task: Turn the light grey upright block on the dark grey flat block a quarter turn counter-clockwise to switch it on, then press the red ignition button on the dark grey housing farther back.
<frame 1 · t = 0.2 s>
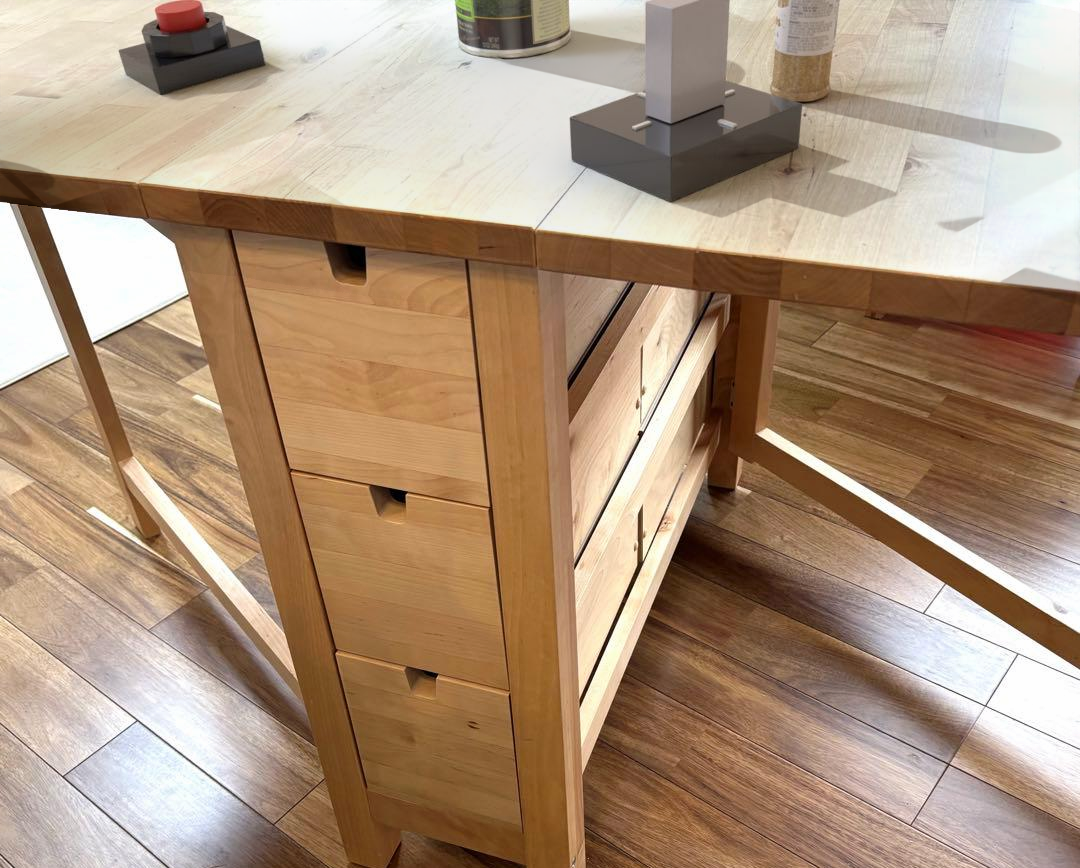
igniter: (195, 70, 94), on the table
sprinkles bottle: (799, 96, 80), on the table
light grey upright block: (686, 52, 68), point 7 cm above the table, hinge at 0.0°
ignition button: (181, 17, 91), point 4 cm above the table, slide at 0.1 cm
dark grey flat block: (684, 154, 72), on the table
coffee can: (515, 43, 94), on the table
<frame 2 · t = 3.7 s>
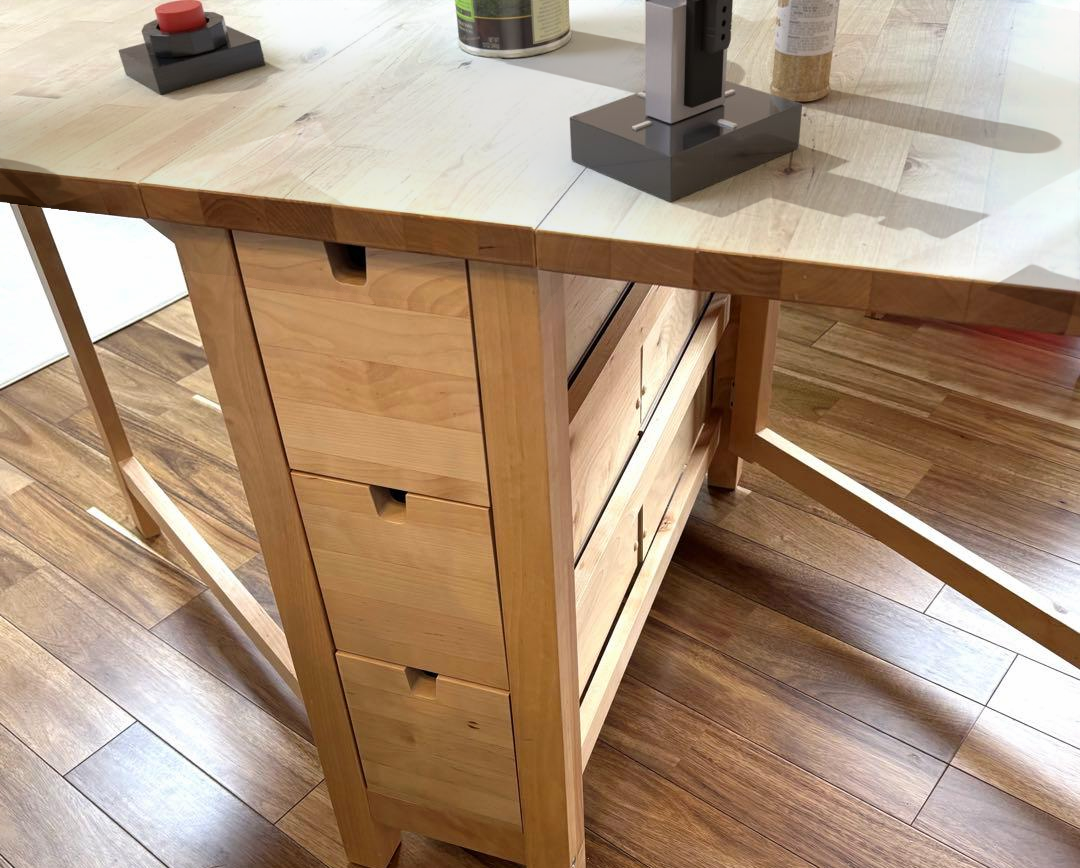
hand: (685, 94, 70), 4 cm above the table, tool pointing down, fingers closed on light grey upright block, 2 cm apart
light grey upright block: (686, 52, 68), point 7 cm above the table, hinge at 0.0°, touching gripper
everything else where it was.
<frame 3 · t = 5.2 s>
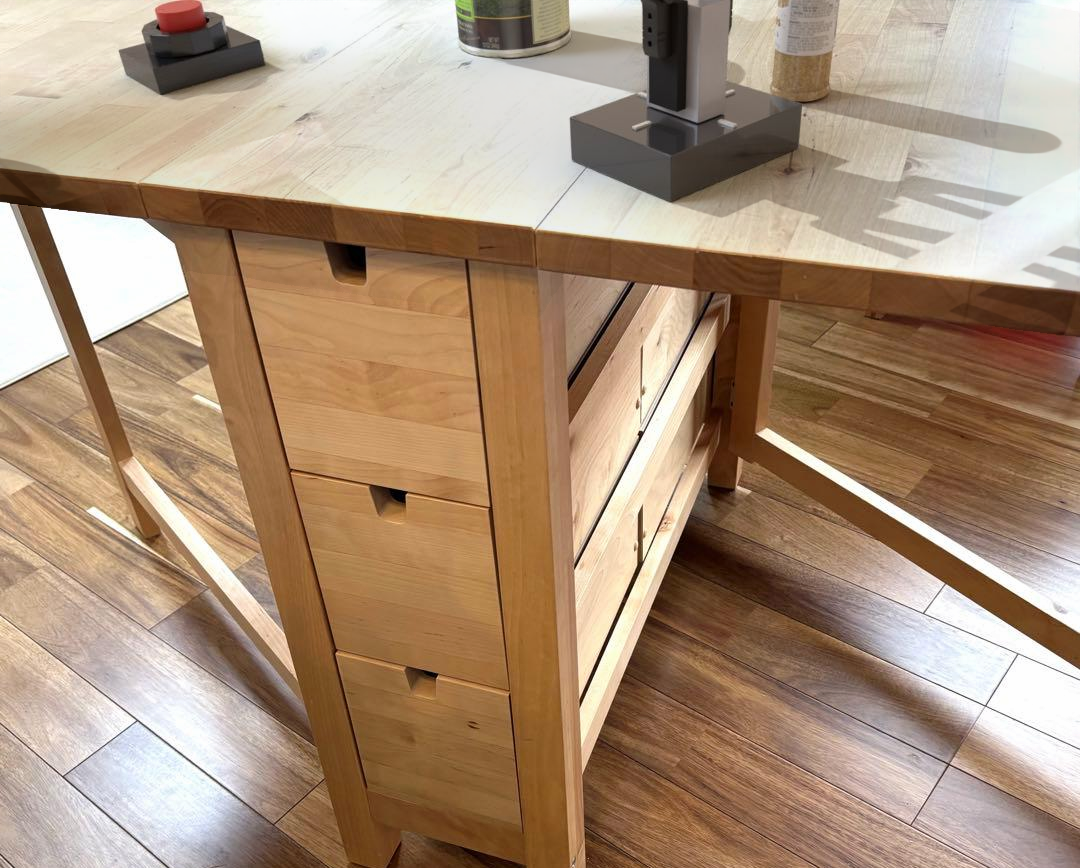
hand: (686, 97, 70), 4 cm above the table, tool pointing down, fingers open, 3 cm apart
light grey upright block: (686, 52, 68), point 7 cm above the table, hinge at 89.9°
everything else where it was.
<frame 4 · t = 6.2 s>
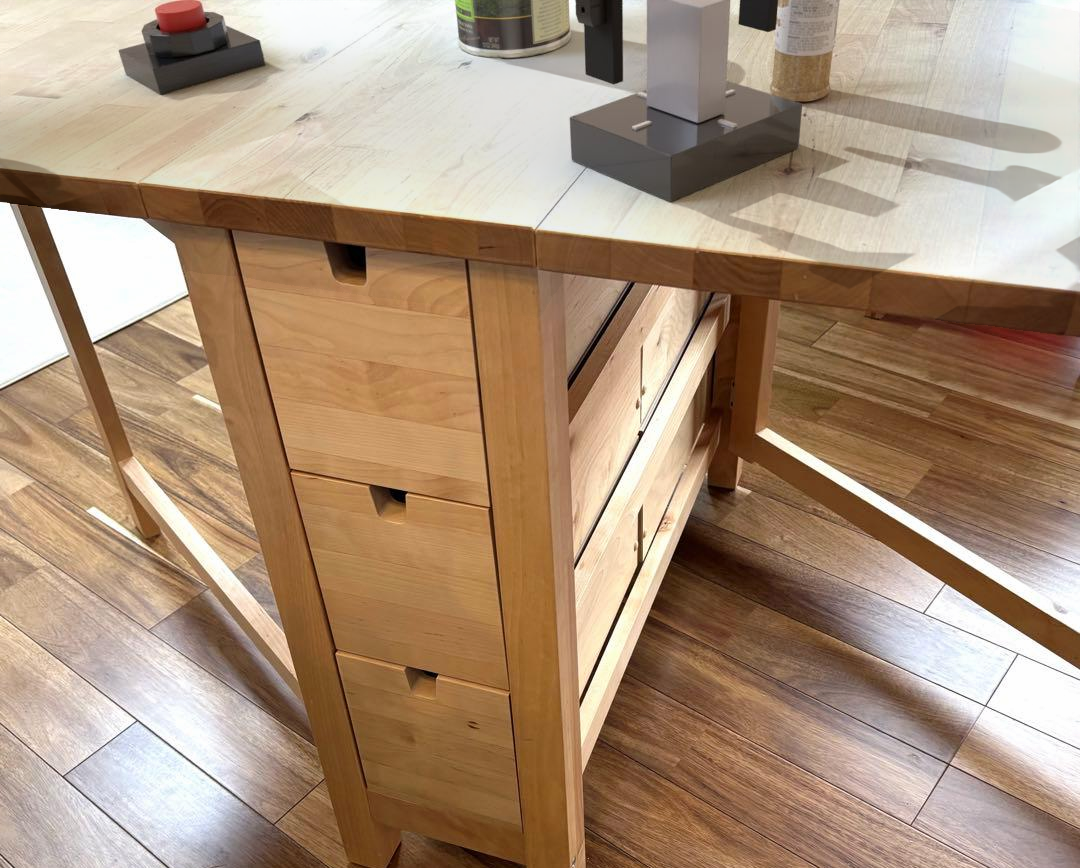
hand: (683, 52, 68), 7 cm above the table, tool pointing down, fingers open, 13 cm apart
nothing on the table moved.
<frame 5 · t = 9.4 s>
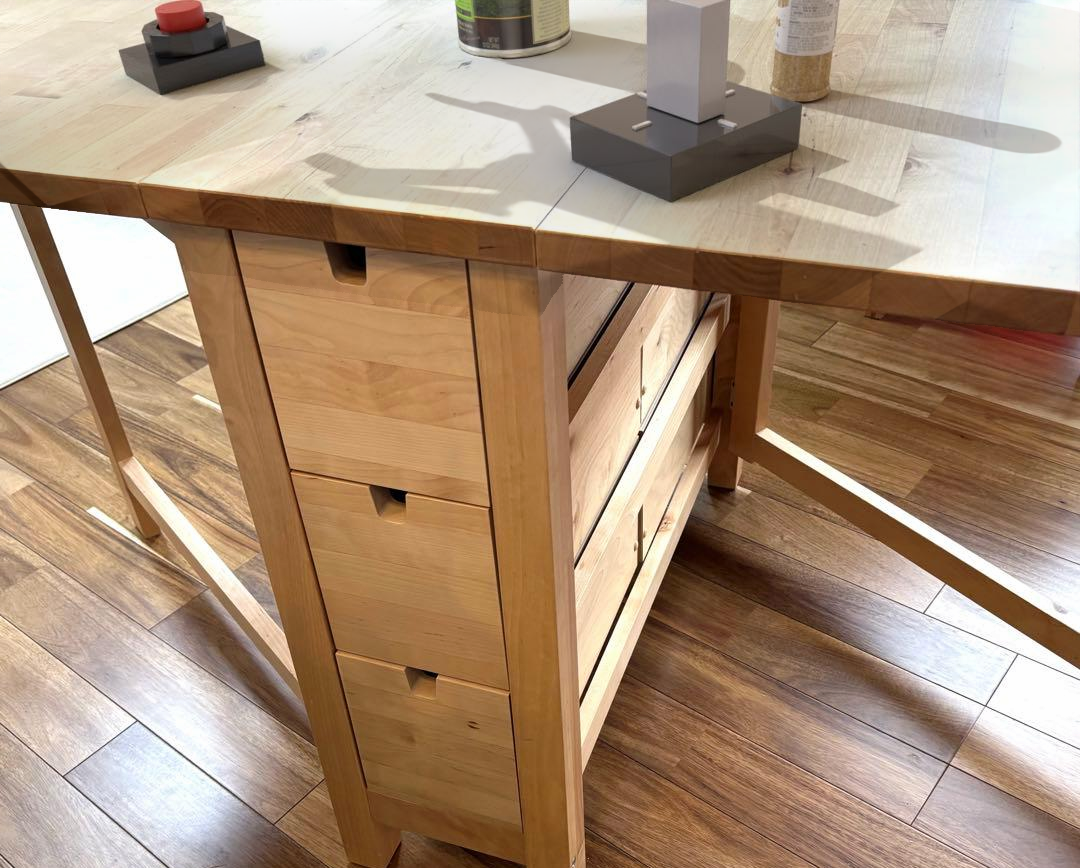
nothing on the table moved.
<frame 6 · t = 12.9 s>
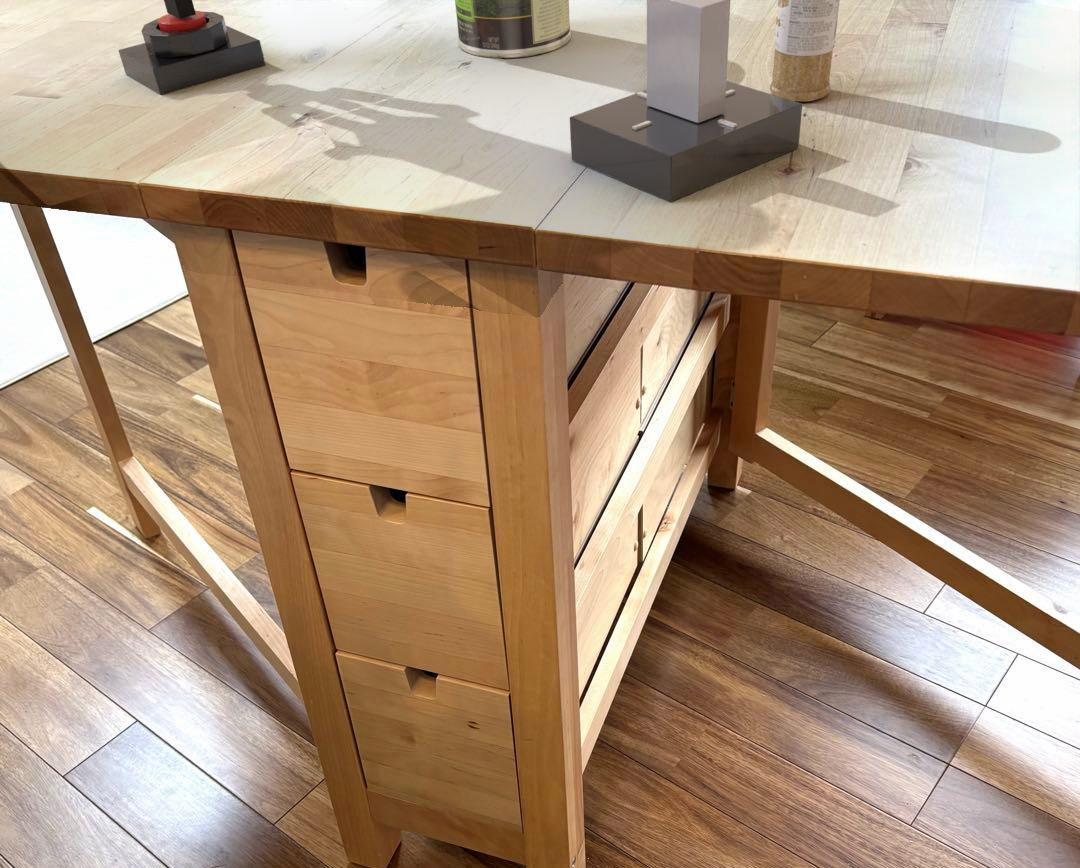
hand: (181, 13, 91), 5 cm above the table, tool pointing down, fingers closed
ignition button: (184, 27, 92), point 4 cm above the table, slide at -0.8 cm, touching gripper
everything else where it was.
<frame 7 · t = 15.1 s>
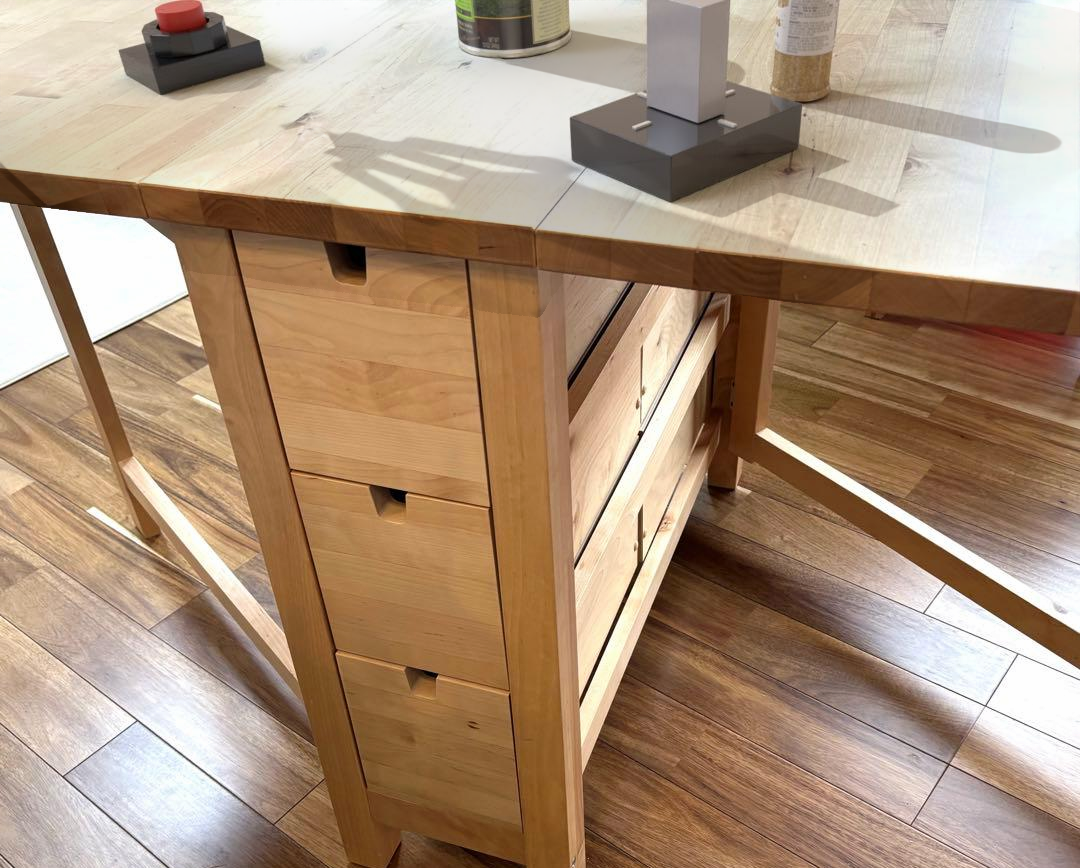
ignition button: (181, 17, 91), point 4 cm above the table, slide at 0.1 cm
everything else where it was.
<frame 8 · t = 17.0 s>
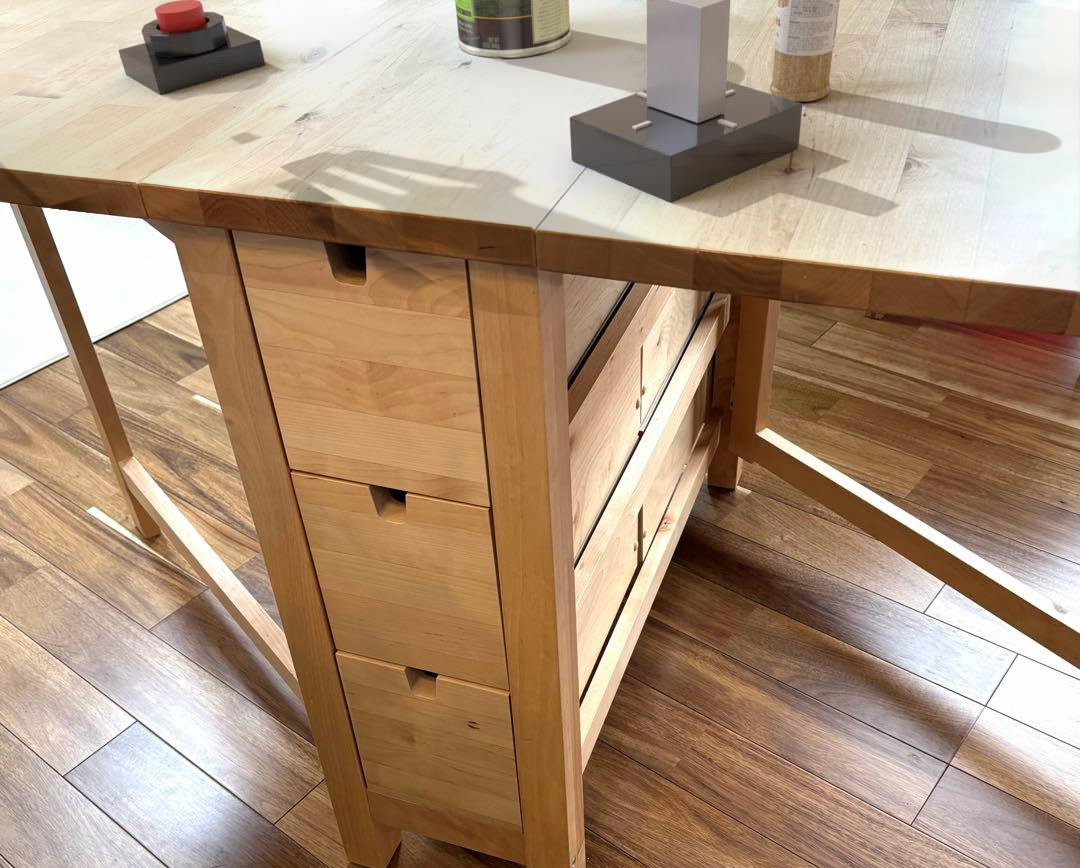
nothing on the table moved.
at the end: light grey upright block at +90° (first picture: +0°); ignition button pushed in 1.0 cm at the most during the clip, back to where it started at the end; ignition button slide at 0.1 cm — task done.
